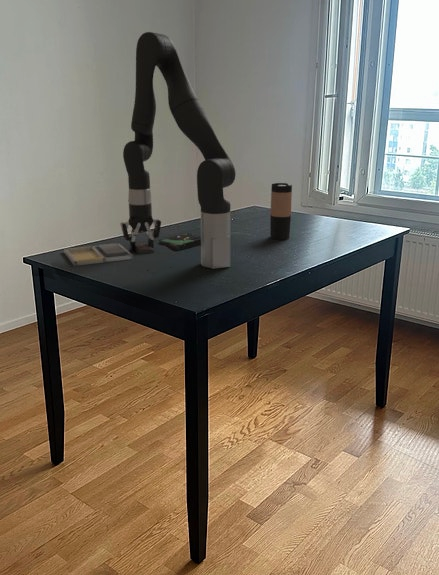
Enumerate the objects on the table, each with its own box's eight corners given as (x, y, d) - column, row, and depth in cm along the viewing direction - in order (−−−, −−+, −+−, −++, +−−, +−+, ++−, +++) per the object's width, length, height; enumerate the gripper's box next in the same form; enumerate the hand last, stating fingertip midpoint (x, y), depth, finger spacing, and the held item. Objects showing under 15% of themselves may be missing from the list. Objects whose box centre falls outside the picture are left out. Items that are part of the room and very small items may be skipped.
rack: (133, 261, 188) (133, 254, 188) (74, 268, 181) (73, 261, 180) (119, 249, 203) (119, 242, 202) (64, 255, 195) (63, 248, 195)
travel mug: (268, 239, 217) (269, 185, 211) (271, 234, 225) (273, 182, 218) (288, 240, 216) (290, 186, 209) (291, 235, 223) (293, 183, 216)
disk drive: (187, 240, 219) (158, 247, 208) (187, 232, 218) (158, 239, 207) (207, 244, 212) (179, 252, 202) (207, 237, 212) (179, 244, 201)
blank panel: (125, 257, 189) (125, 251, 189) (107, 259, 187) (106, 253, 186) (115, 248, 200) (115, 243, 199) (98, 250, 197) (97, 245, 197)
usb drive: (139, 257, 194) (138, 249, 193) (130, 248, 204) (130, 240, 204) (154, 255, 196) (153, 247, 195) (144, 247, 206) (144, 239, 205)
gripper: (122, 205, 188) (124, 255, 194) (164, 202, 194) (165, 251, 199) (116, 201, 195) (118, 250, 200) (156, 198, 200) (158, 246, 206)
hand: (142, 250), depth 200 cm, fingers closed on usb drive, 5 cm apart
